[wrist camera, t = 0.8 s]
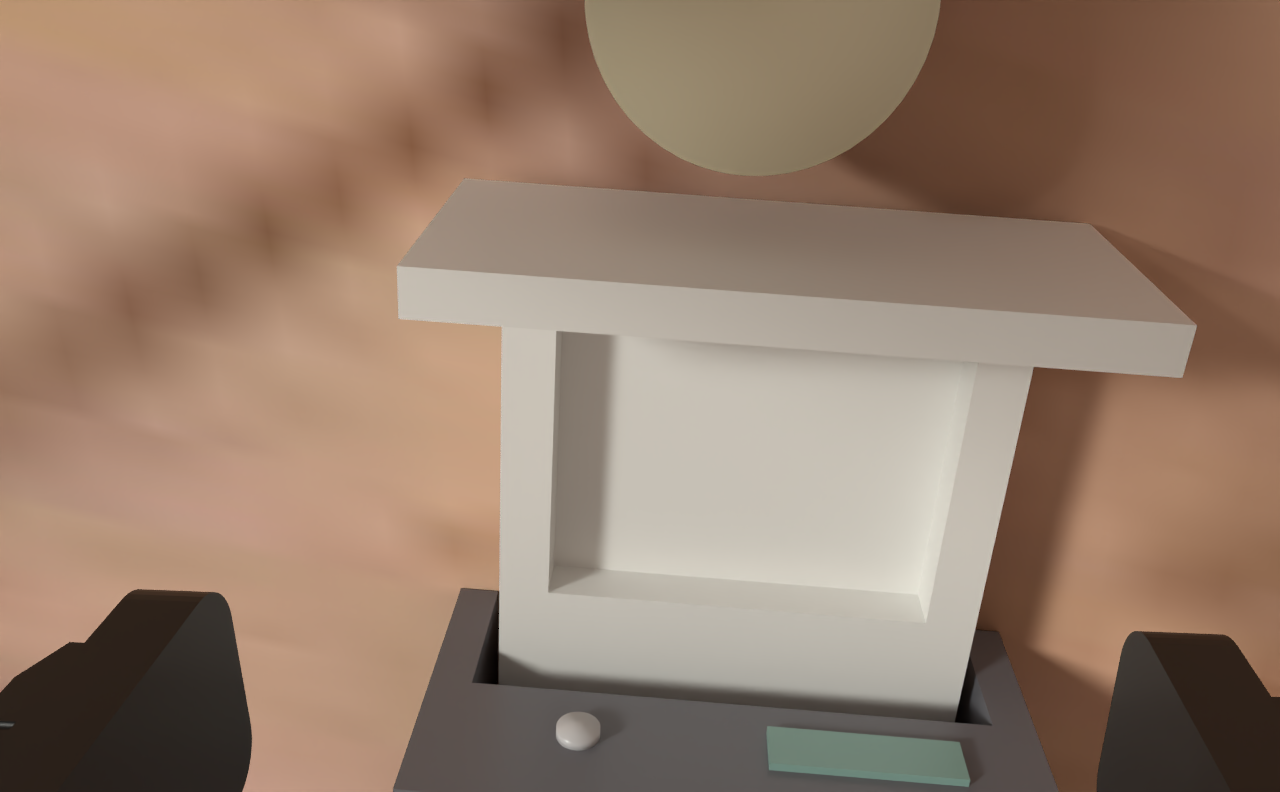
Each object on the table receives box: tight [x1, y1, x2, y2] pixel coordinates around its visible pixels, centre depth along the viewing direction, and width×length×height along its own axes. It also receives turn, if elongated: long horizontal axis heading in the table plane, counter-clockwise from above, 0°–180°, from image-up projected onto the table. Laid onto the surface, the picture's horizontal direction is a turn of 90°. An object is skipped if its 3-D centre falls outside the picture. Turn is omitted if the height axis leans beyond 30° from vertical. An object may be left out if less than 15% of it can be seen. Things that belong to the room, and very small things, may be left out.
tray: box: [397, 178, 1197, 722], centre depth 26 cm, size 14×14×6 cm
